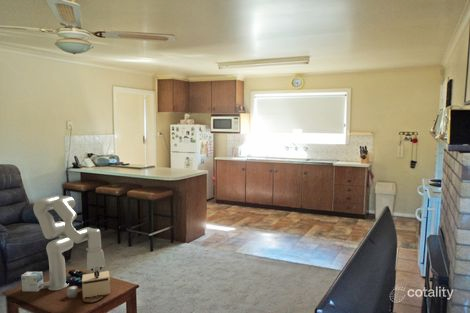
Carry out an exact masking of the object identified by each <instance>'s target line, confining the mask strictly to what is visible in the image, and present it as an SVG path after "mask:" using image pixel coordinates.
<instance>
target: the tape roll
mask: <svg viewBox="0 0 470 313" xmlns="http://www.w3.org/2000/svg"><path fill="white" fill-rule="evenodd" d="M78 289H79V288H78V286H77V285H72V286H71V285H70V286H68V287H66V292H67V294H66V295H67V298H68V299H73V298H76V297H78V296H79V290H78Z"/></svg>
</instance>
